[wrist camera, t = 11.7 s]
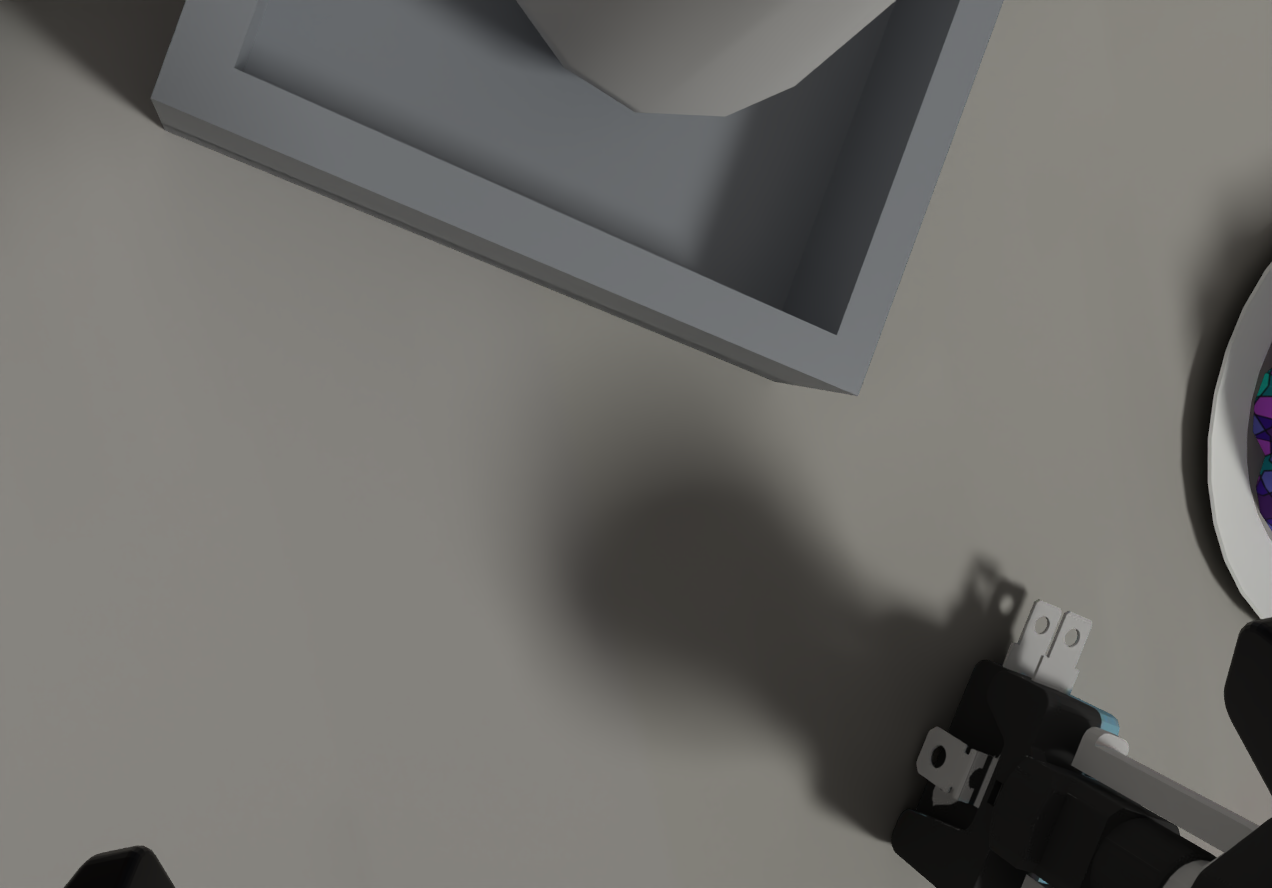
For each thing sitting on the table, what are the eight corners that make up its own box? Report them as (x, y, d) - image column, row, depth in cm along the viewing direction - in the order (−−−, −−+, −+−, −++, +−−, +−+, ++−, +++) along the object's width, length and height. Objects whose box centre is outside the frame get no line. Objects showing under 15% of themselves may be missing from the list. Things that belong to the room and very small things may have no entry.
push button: (946, 561, 23) (1427, 744, 14) (1114, 632, 25) (1633, 834, 16) (829, 845, 23) (1233, 1222, 14) (1007, 894, 25) (1465, 1252, 16)
